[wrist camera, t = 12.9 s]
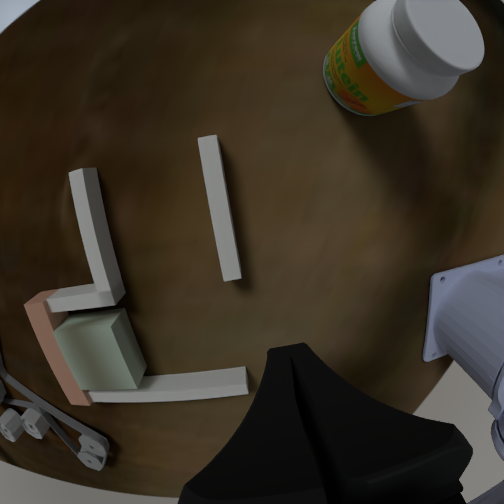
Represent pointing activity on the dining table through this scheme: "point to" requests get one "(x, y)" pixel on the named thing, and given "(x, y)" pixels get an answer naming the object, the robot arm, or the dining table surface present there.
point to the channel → (112, 289)
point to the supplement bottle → (402, 54)
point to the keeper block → (101, 350)
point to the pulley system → (48, 424)
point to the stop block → (54, 345)
